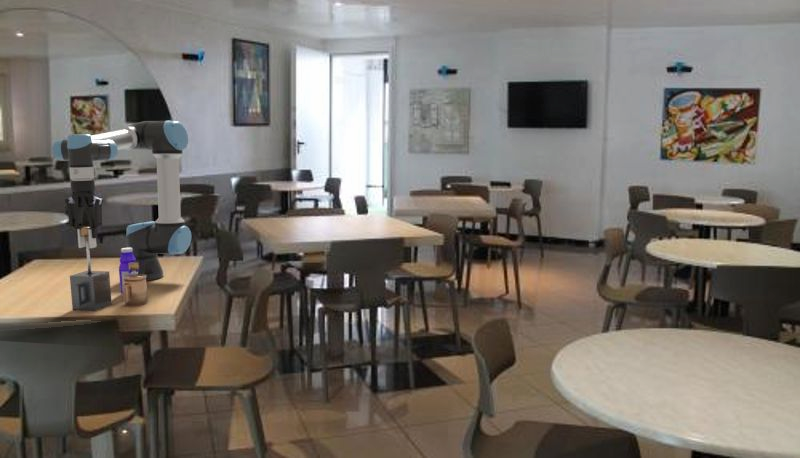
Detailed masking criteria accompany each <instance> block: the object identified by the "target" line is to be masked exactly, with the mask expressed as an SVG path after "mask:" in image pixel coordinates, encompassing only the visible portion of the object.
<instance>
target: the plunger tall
mask: <svg viewBox="0 0 800 458" xmlns="http://www.w3.org/2000/svg"><path fill="white" fill-rule="evenodd" d="M89 228H90V226H83V227H81V228H80V229H81V237H85V244H86V247H85V251H86V261H87V262H86V264H87V271H88V274H91V271H92V265H91V252H90V246H89V233H88V229H89Z"/></svg>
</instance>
